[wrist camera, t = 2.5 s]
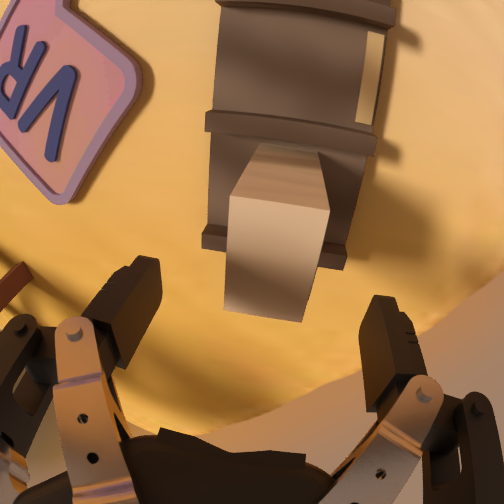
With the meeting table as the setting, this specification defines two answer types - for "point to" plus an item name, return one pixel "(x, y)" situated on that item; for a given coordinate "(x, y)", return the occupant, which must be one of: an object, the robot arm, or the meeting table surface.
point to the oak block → (275, 233)
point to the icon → (60, 93)
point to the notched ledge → (296, 99)
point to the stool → (13, 283)
